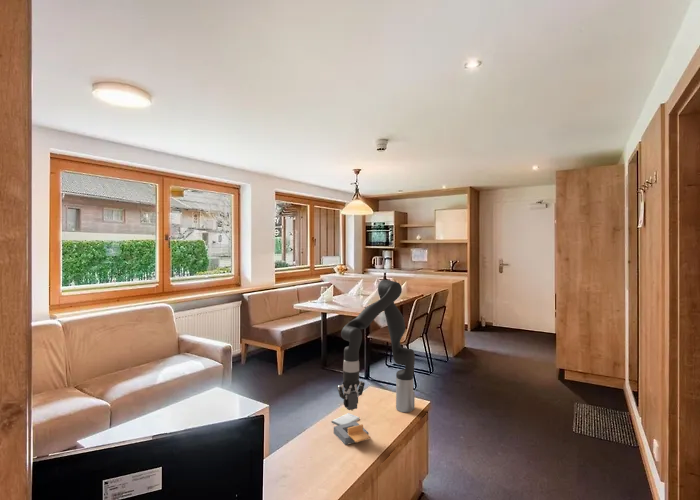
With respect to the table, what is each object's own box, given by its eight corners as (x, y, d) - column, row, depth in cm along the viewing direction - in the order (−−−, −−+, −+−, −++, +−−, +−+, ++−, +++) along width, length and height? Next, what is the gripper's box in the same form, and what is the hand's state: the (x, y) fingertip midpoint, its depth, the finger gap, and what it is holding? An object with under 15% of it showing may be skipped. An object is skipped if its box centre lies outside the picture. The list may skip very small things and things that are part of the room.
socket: (355, 427, 181) (355, 421, 181) (368, 438, 171) (368, 432, 171) (333, 433, 176) (333, 426, 176) (345, 444, 165) (345, 438, 165)
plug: (352, 406, 176) (352, 389, 176) (357, 410, 172) (357, 393, 172) (344, 408, 174) (344, 391, 174) (348, 412, 170) (349, 394, 170)
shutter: (362, 430, 171) (362, 424, 171) (370, 438, 164) (370, 431, 164) (347, 434, 168) (347, 427, 168) (355, 442, 161) (355, 435, 161)
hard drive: (343, 425, 181) (359, 417, 190) (331, 420, 186) (347, 412, 195) (343, 429, 181) (359, 420, 190) (331, 423, 186) (347, 415, 195)
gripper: (341, 373, 166) (340, 411, 166) (368, 369, 173) (368, 405, 173) (334, 369, 173) (333, 405, 173) (360, 364, 180) (360, 399, 180)
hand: (350, 405), depth 173 cm, fingers closed on plug, 4 cm apart
